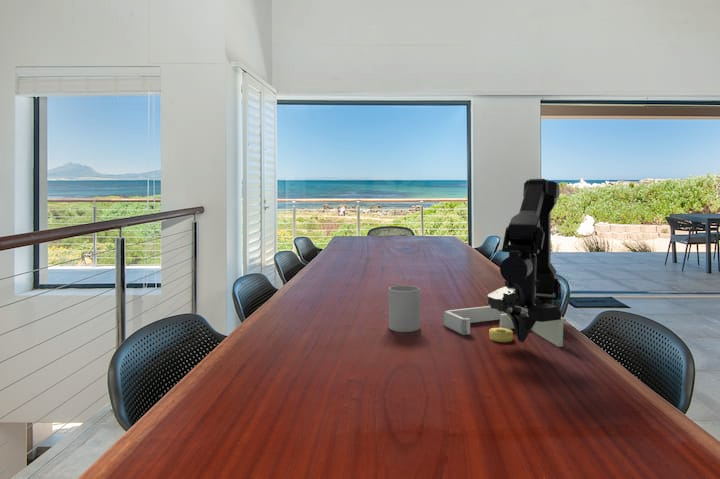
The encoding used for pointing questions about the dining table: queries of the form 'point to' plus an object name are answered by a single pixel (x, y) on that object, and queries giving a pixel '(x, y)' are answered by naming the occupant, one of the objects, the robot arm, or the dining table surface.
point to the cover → (550, 331)
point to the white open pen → (474, 318)
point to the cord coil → (501, 334)
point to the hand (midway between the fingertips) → (521, 341)
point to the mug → (404, 308)
